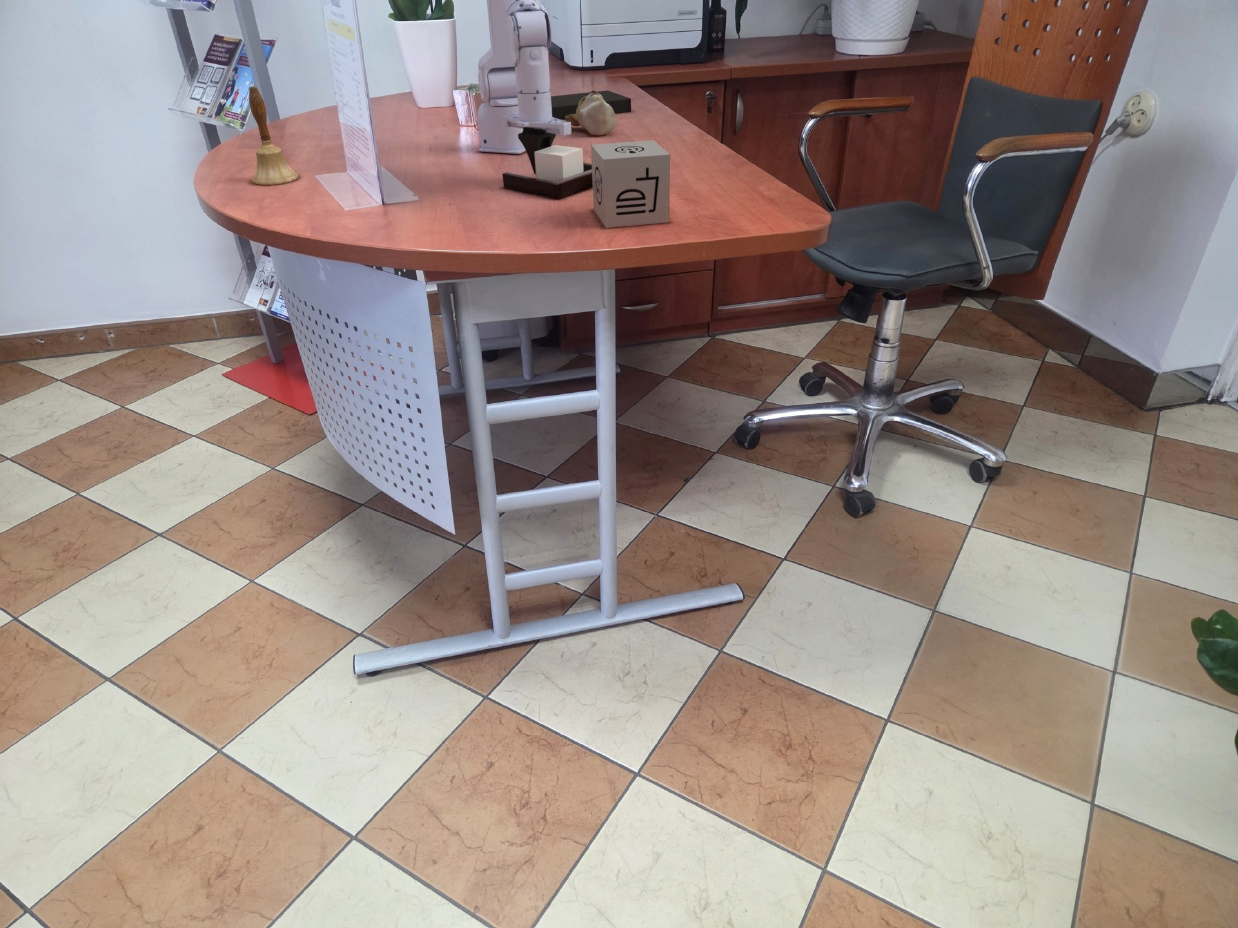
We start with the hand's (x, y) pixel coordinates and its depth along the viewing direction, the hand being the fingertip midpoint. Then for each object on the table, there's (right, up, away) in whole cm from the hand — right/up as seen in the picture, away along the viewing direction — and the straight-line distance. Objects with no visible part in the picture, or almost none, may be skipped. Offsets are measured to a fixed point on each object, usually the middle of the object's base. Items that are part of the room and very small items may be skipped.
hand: (539, 173), depth 145 cm
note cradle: (+3, -2, -1) cm, 4 cm away
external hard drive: (+4, +35, +55) cm, 65 cm away
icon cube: (+16, -13, -18) cm, 27 cm away
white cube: (+4, -3, -2) cm, 5 cm away
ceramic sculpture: (+9, +22, +36) cm, 43 cm away
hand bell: (-50, +1, +6) cm, 51 cm away
